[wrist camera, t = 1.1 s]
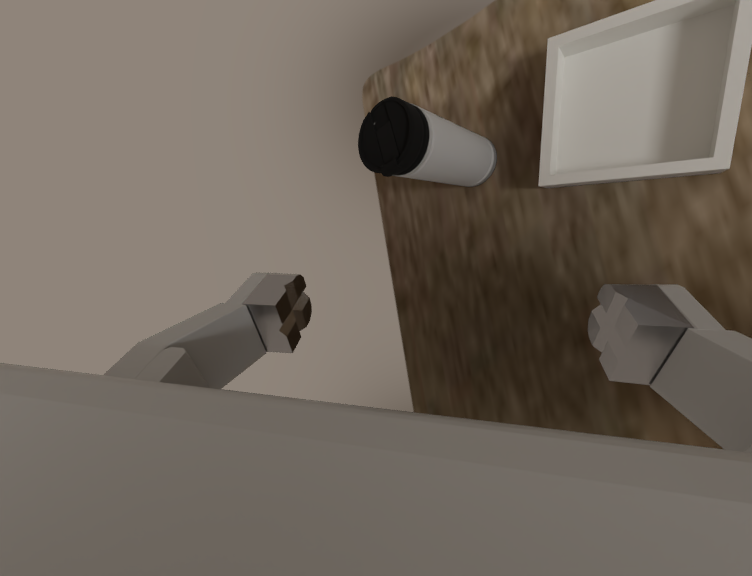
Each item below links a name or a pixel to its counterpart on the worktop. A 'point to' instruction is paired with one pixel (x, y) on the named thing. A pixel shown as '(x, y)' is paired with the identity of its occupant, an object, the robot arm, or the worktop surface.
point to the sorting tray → (645, 93)
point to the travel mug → (423, 146)
